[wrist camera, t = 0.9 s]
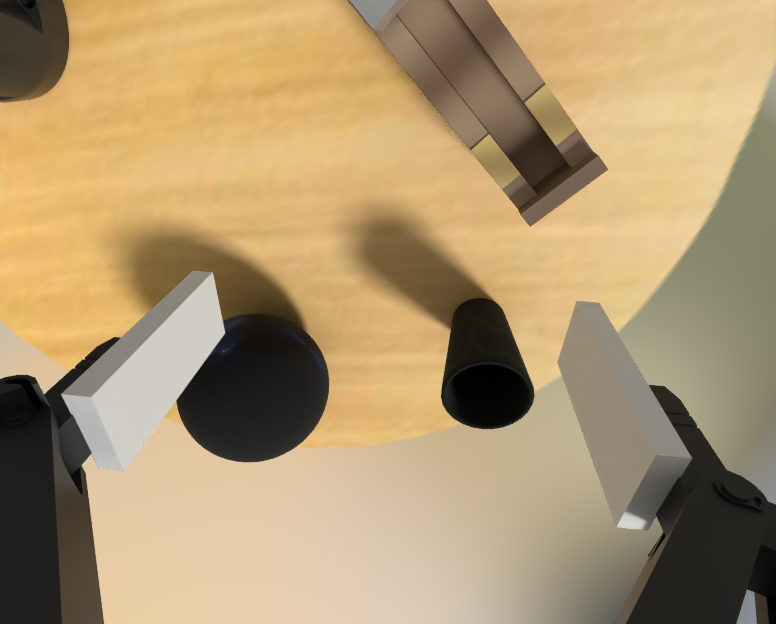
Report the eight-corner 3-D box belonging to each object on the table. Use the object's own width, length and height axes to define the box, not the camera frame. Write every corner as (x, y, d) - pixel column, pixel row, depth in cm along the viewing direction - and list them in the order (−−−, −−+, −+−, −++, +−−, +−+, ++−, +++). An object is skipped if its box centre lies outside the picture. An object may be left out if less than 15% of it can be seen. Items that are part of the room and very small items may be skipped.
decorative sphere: (262, 262, 46) (191, 344, 33) (368, 346, 50) (340, 448, 38) (196, 341, 53) (116, 435, 40) (293, 410, 57) (249, 514, 44)
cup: (529, 305, 45) (552, 381, 35) (494, 358, 49) (506, 440, 39) (461, 278, 44) (464, 348, 34) (431, 334, 48) (427, 411, 38)
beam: (315, -52, 32) (272, -83, 24) (377, -139, 29) (351, -206, 21) (512, 192, 39) (528, 228, 31) (576, 141, 36) (611, 167, 29)
